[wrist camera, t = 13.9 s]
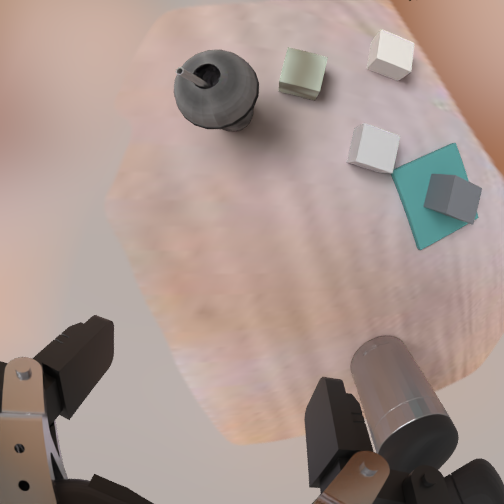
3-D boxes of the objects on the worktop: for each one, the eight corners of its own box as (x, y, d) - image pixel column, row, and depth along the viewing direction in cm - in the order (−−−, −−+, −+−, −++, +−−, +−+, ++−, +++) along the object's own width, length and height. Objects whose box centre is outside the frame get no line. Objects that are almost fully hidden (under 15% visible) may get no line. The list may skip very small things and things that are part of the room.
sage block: (321, 69, 32) (327, 57, 28) (314, 100, 33) (319, 91, 29) (286, 60, 32) (287, 47, 28) (278, 91, 33) (279, 81, 29)
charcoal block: (456, 184, 33) (482, 188, 27) (448, 216, 34) (473, 224, 28) (431, 173, 33) (455, 175, 27) (423, 206, 34) (446, 213, 28)
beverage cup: (275, 102, 33) (274, 31, 14) (245, 152, 35) (210, 130, 16) (223, 77, 33) (174, -4, 14) (193, 126, 35) (114, 86, 15)
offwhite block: (401, 54, 30) (414, 42, 26) (397, 81, 31) (411, 72, 27) (370, 42, 30) (380, 29, 26) (366, 69, 31) (376, 58, 27)
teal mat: (474, 216, 35) (478, 217, 34) (417, 248, 36) (420, 250, 36) (451, 143, 32) (455, 142, 31) (389, 171, 34) (392, 171, 33)
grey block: (386, 139, 33) (400, 135, 29) (379, 172, 35) (392, 173, 30) (353, 128, 34) (364, 122, 29) (346, 162, 35) (355, 161, 30)
